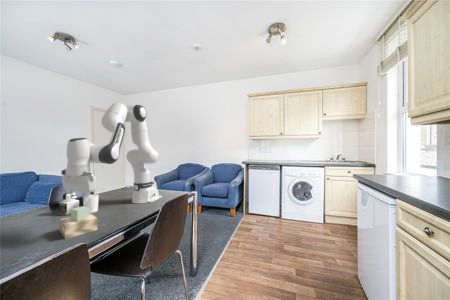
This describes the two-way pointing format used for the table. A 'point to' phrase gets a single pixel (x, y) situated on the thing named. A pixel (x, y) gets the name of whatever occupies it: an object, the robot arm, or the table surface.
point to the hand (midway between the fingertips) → (79, 199)
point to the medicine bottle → (67, 204)
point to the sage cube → (79, 213)
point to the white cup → (92, 203)
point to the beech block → (77, 226)
